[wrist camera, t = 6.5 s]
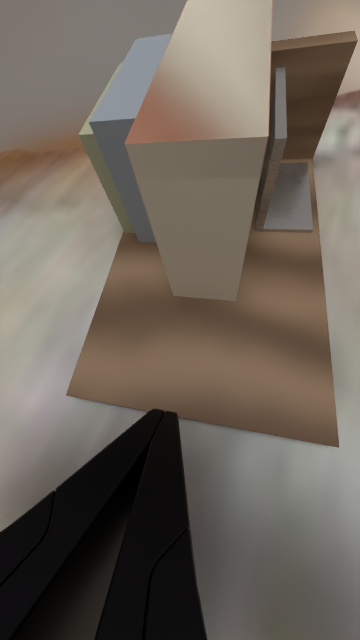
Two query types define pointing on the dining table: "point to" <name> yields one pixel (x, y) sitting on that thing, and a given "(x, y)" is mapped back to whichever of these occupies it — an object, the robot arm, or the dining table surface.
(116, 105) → the small books
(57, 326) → the dining table surface
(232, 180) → the boxed book
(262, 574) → the dining table surface
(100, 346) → the shelf
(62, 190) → the dining table surface
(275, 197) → the bookend
